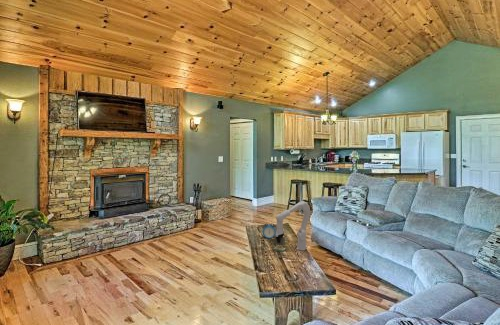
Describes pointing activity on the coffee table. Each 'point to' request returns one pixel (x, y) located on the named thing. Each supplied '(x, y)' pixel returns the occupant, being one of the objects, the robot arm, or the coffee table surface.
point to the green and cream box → (279, 248)
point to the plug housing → (282, 241)
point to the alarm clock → (269, 230)
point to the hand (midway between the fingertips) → (279, 242)
